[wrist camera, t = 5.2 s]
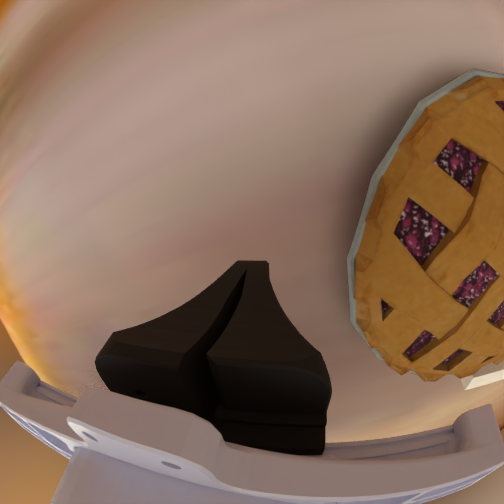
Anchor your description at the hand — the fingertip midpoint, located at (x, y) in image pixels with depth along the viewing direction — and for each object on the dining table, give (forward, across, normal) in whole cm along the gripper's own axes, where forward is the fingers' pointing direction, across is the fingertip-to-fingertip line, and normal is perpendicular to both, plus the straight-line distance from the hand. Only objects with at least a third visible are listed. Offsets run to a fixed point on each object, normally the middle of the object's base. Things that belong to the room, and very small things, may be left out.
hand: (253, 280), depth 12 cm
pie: (+6, -16, 0) cm, 16 cm away
